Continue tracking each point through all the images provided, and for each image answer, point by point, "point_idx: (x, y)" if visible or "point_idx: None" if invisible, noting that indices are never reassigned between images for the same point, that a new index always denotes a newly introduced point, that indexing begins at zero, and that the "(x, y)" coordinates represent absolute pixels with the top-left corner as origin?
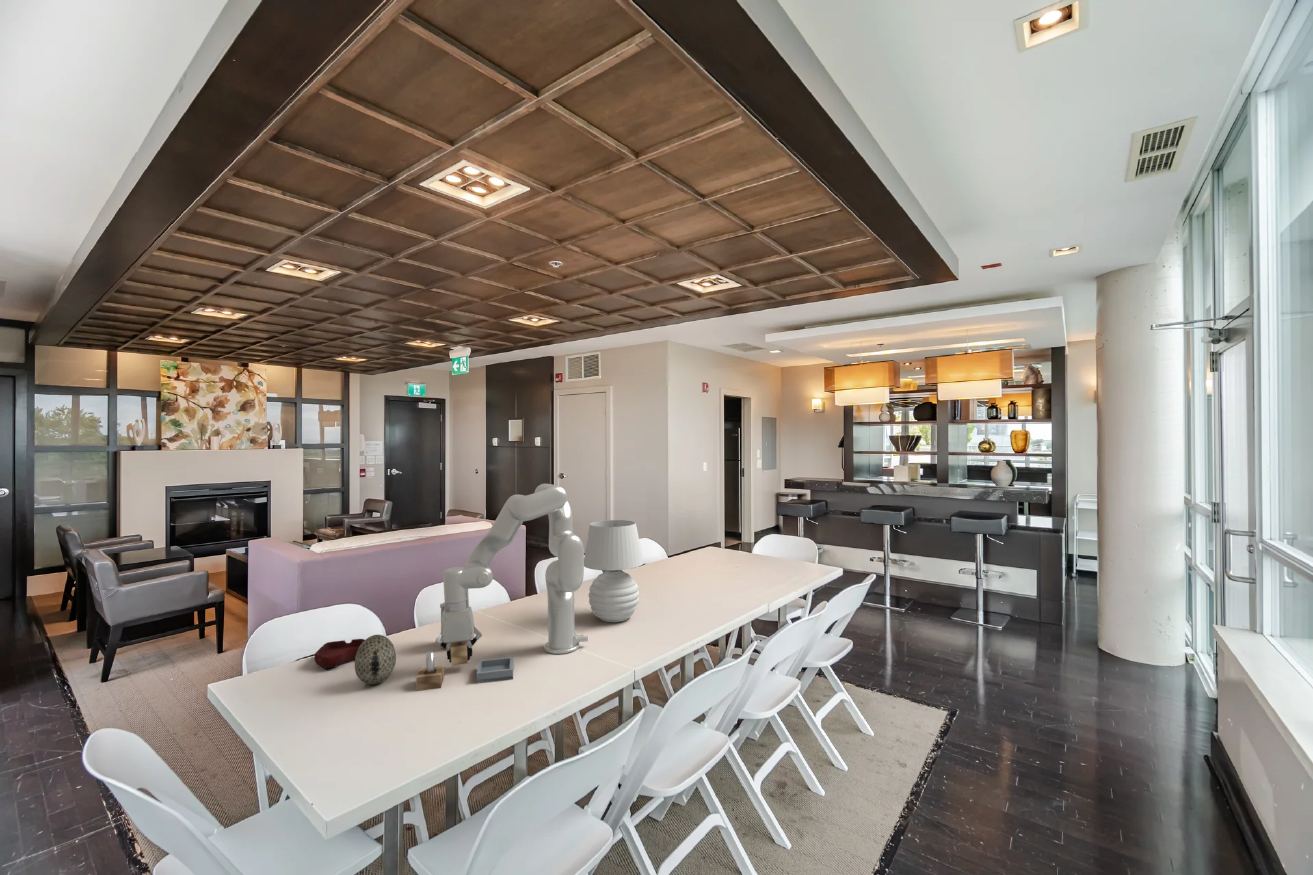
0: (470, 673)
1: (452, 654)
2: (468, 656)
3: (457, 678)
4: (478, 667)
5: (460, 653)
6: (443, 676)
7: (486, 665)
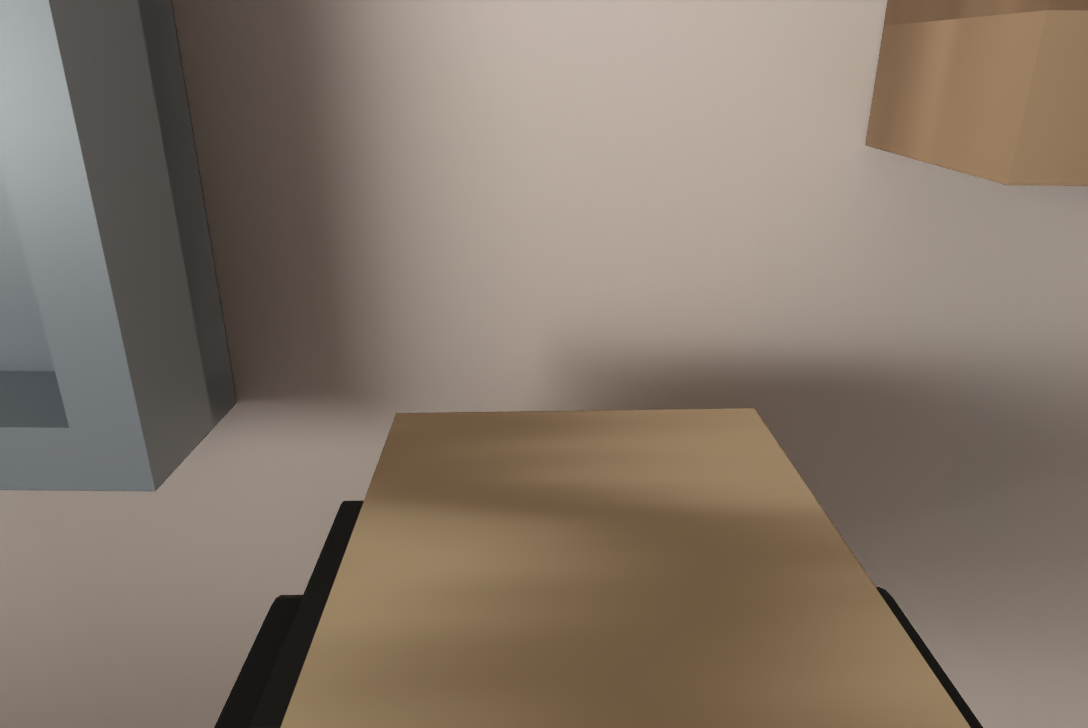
0: (364, 259)
1: (807, 564)
2: None
3: (593, 70)
4: (30, 16)
5: (549, 567)
6: (896, 107)
7: (37, 379)
